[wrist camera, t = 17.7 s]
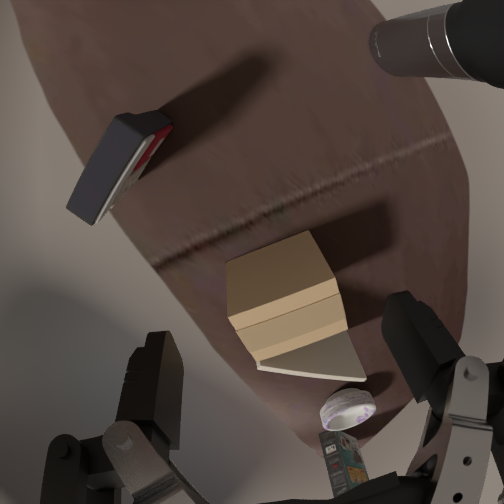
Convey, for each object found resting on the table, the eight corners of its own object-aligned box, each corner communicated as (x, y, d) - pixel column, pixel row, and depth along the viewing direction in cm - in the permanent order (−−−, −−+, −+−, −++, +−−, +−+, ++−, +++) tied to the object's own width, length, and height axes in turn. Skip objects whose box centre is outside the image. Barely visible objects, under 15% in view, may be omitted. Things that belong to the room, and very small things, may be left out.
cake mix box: (318, 434, 86) (336, 508, 60) (333, 427, 84) (354, 502, 58) (342, 444, 95) (360, 506, 69) (356, 438, 94) (375, 500, 68)
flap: (345, 329, 58) (367, 378, 46) (342, 333, 58) (363, 382, 47) (252, 308, 52) (260, 365, 41) (249, 312, 53) (257, 369, 41)
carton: (308, 229, 46) (336, 277, 34) (323, 277, 51) (348, 329, 39) (225, 262, 47) (227, 318, 36) (248, 305, 52) (256, 362, 41)
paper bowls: (361, 403, 77) (368, 424, 70) (314, 414, 77) (319, 436, 70) (373, 376, 70) (383, 398, 63) (320, 387, 69) (327, 412, 62)
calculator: (134, 186, 40) (96, 232, 27) (111, 170, 38) (64, 209, 25) (178, 124, 36) (152, 140, 23) (153, 106, 34) (115, 114, 21)
